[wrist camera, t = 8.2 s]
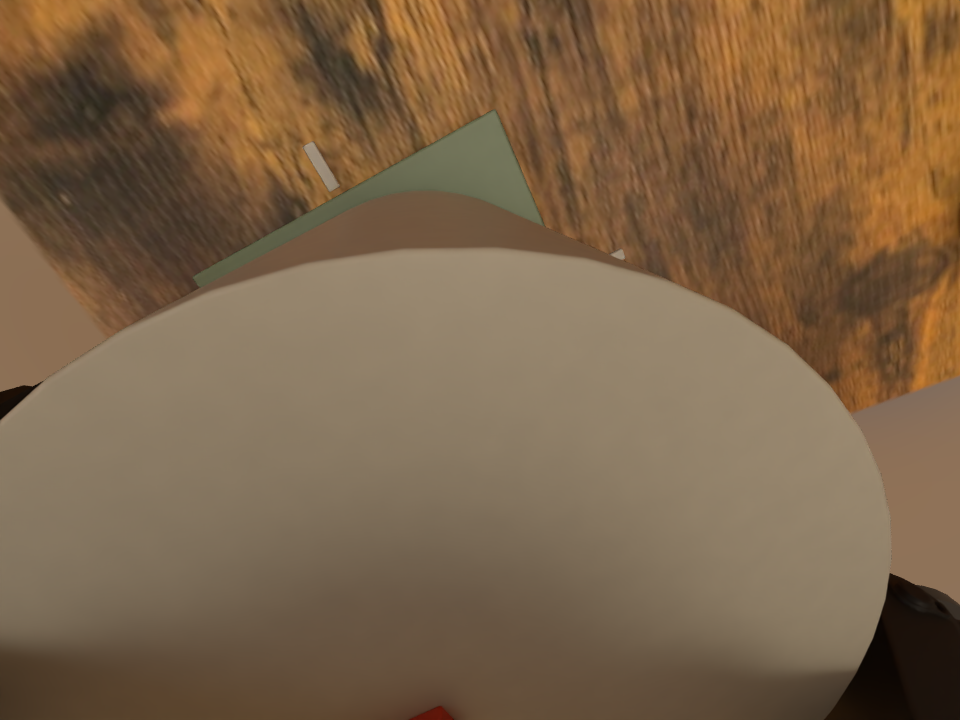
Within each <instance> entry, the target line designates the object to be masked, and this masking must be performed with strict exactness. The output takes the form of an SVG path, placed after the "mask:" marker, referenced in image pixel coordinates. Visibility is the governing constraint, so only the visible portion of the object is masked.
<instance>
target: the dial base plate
mask: <svg viewBox="0 0 960 720" xmlns="http://www.w3.org/2000/svg"><path fill="white" fill-rule="evenodd" d="M303 149H304V150H305V152H306V154H307V155H308V157H309V159H310V160H311V162H312V164H313V165H314V167H315V169H316V170H317V172H318V174H319V175H320V177H321V179H322V180H323V182H324V184H325V185H326V187H327V189H328V190H329V192H331V191H333V190H334V189H336V188H338V187H340V185H339V183H338V181H337V180H336V178H335V176H334V175H333V173H332V171H331V170H330V168H329V166H328V165H327V163H326V161H325V159H324V158H323V156H322V154H321V153H320V151H319V149H318V148H317V146H316V144H315V143H314V142H313V141H312V142H310V143H308V144H307V145H305V146H303ZM408 191H444V192H451V193H459V194H463V195H466V196H470V197H473V198H477V199H480V200H483V201H486V202H488V203H490V204H493V205H495V206H497V207H500V208H502V209H504V210H507V211H509V212H511V213H514V214H516V215H518V216H521V217H523V218H525V219H528V220H530V221H532V222H535V223H537V224H539V225H542V226H544V227H545V225H544V223H543V220H542V218H541V216H540V213H539V211H538V208H537V206H536V204H535V201H534V199H533V197H532V194H531V192H530V189H529V187H528V185H527V182H526V180H525V178H524V175H523V173H522V170H521V168H520V166H519V163H518V161H517V159H516V156H515V154H514V151H513V149H512V147H511V144H510V142H509V140H508V137H507V135H506V133H505V130H504V128H503V125H502V123H501V121H500V118H499V116H498V114H497V111H496V110H491V111H490V112H488V113H486V114H484V115H482V116H481V117H479V118H477V119H475V120H473V121H472V122H470V123H468V124H466V125H464V126H463V127H461V128H459V129H457V130H455V131H454V132H452V133H450V134H448V135H446V136H445V137H443V138H441V139H439V140H437V141H436V142H434V143H432V144H430V145H428V146H427V147H425V148H423V149H421V150H419V151H418V152H416V153H414V154H412V155H410V156H409V157H407V158H405V159H403V160H401V161H400V162H398V163H396V164H394V165H392V166H391V167H389V168H387V169H385V170H383V171H382V172H380V173H378V174H376V175H374V176H373V177H371V178H369V179H367V180H365V181H364V182H362V183H360V184H358V185H356V186H355V187H353V188H351V189H349V190H347V191H346V192H344V193H342V194H340V195H338V196H337V197H335V198H333V199H331V200H329V201H328V202H326V203H324V204H322V205H320V206H319V207H317V208H315V209H313V210H311V211H310V212H308V213H306V214H304V215H302V216H301V217H299V218H297V219H295V220H293V221H292V222H290V223H288V224H286V225H284V226H283V227H281V228H279V229H277V230H275V231H274V232H272V233H270V234H268V235H266V236H265V237H263V238H261V239H259V240H257V241H256V242H254V243H252V244H250V245H248V246H247V247H245V248H243V249H241V250H239V251H238V252H236V253H234V254H232V255H230V256H229V257H227V258H225V259H223V260H221V261H220V262H218V263H216V264H214V265H212V266H211V267H209V268H207V269H205V270H203V271H202V272H200V273H198V274H196V275H194V276H193V280H194V281H195V282H196V284H197V285H198V286H199V287H200V288H201V287H203V286H205V285H207V284H209V283H211V282H213V281H214V280H216V279H218V278H220V277H222V276H224V275H226V274H228V273H230V272H231V271H233V270H235V269H237V268H239V267H241V266H243V265H245V264H247V263H249V262H250V261H252V260H254V259H256V258H258V257H260V256H262V255H264V254H266V253H267V252H269V251H271V250H273V249H275V248H277V247H279V246H281V245H283V244H285V243H286V242H288V241H290V240H292V239H294V238H296V237H298V236H300V235H302V234H303V233H305V232H307V231H309V230H311V229H313V228H315V227H317V226H319V225H321V224H322V223H324V222H326V221H328V220H330V219H332V218H334V217H336V216H338V215H339V214H341V213H343V212H345V211H347V210H349V209H351V208H353V207H356V206H358V205H360V204H362V203H365V202H367V201H369V200H372V199H376V198H379V197H382V196H386V195H389V194H394V193H401V192H408ZM609 255H611V256H614V257H616V258H618V259H621V260H622V259H624V258H625V256H624V253H623V250H622V249H621V248H620V249H618V250H616V251H614V252H612V253H610V254H609Z"/></svg>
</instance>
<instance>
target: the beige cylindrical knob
mask: <svg viewBox="0 0 960 720" xmlns="http://www.w3.org/2000/svg"><path fill="white" fill-rule="evenodd" d="M890 519H891V517H890V513H889V508H888V503H887V499H886V494H885V490H884V485H883V481H882V476H881V473H880V470H879V468H878V466H877V464H876V462H875V459H874V457H873V455H872V452H871V450H870V448H869V446H868V444H867V441H866V439H865V437H864V434H863V432H862V430H861V428H860V427H859V426H858V424H857V423H856V421H855V420H854V419H853V417H852V416H851V414H850V413H849V411H848V410H847V409H846V407H845V406H844V404H843V403H842V402H841V400H840V399H839V397H838V396H837V395H836V393H835V392H834V390H833V389H832V388H831V386H830V385H829V384H828V383H827V382H826V381H825V380H824V379H823V378H822V377H821V376H820V375H819V374H818V373H817V372H816V371H815V370H814V369H813V368H812V367H810V366H809V365H808V364H807V363H806V362H805V361H804V360H803V359H802V358H801V357H800V356H799V355H798V354H797V353H796V352H795V351H794V350H793V349H792V348H791V347H790V346H788V345H787V344H786V343H784V342H783V341H781V340H780V339H778V338H777V337H775V336H774V335H772V334H771V333H769V332H768V331H766V330H765V329H763V328H762V327H760V326H759V325H757V324H756V323H754V322H753V321H751V320H749V319H748V318H746V317H745V316H743V315H742V314H740V313H739V312H737V311H736V310H734V309H733V308H731V307H728V306H726V305H724V304H722V303H719V302H717V301H715V300H713V299H710V298H708V297H706V296H704V295H701V294H699V293H697V292H695V291H692V290H690V289H688V288H685V287H683V286H681V285H679V284H676V283H674V282H672V281H670V280H667V279H665V278H663V277H660V276H658V275H656V274H653V273H651V272H649V271H646V270H644V269H642V268H639V267H637V266H635V265H632V264H630V263H628V262H625V261H623V260H621V259H618V258H616V257H614V256H611V255H609V254H607V253H604V252H602V251H600V250H597V249H595V248H593V247H590V246H588V245H586V244H583V243H581V242H579V241H576V240H574V239H572V238H569V237H567V236H565V235H562V234H560V233H558V232H556V231H553V230H551V229H549V228H546V227H544V226H542V225H539V224H537V223H535V222H532V221H530V220H528V219H525V218H523V217H521V216H518V215H516V214H514V213H511V212H509V211H507V210H504V209H502V208H500V207H497V206H495V205H493V204H490V203H488V202H486V201H483V200H480V199H477V198H473V197H470V196H466V195H463V194H459V193H451V192H444V191H408V192H401V193H394V194H389V195H386V196H382V197H379V198H376V199H372V200H369V201H367V202H365V203H362V204H360V205H358V206H356V207H353V208H351V209H349V210H347V211H345V212H343V213H341V214H339V215H338V216H336V217H334V218H332V219H330V220H328V221H326V222H324V223H322V224H321V225H319V226H317V227H315V228H313V229H311V230H309V231H307V232H305V233H303V234H302V235H300V236H298V237H296V238H294V239H292V240H290V241H288V242H286V243H285V244H283V245H281V246H279V247H277V248H275V249H273V250H271V251H269V252H267V253H266V254H264V255H262V256H260V257H258V258H256V259H254V260H252V261H250V262H249V263H247V264H245V265H243V266H241V267H239V268H237V269H235V270H233V271H231V272H230V273H228V274H226V275H224V276H222V277H220V278H218V279H216V280H214V281H213V282H211V283H209V284H207V285H205V286H203V287H201V288H199V289H197V290H195V291H194V292H192V293H190V294H188V295H186V296H184V297H182V298H180V299H178V300H177V301H175V302H173V303H171V304H169V305H167V306H165V307H163V308H161V309H159V310H158V311H156V312H154V313H152V314H150V315H148V316H146V317H144V318H142V319H141V320H139V321H137V322H135V323H133V324H131V325H129V326H127V327H125V328H124V329H122V330H120V331H119V332H117V333H116V334H114V335H113V336H111V337H110V338H108V339H106V340H105V341H103V342H102V343H100V344H99V345H97V346H95V347H94V348H92V349H91V350H89V351H88V352H86V353H85V354H83V355H81V356H80V357H78V358H77V359H75V360H74V361H72V362H70V363H69V364H67V365H66V366H64V367H63V368H61V369H60V370H58V371H57V372H55V373H53V374H52V375H50V376H49V377H48V378H46V379H45V380H44V381H43V382H42V383H41V384H40V385H39V386H38V387H36V388H35V389H34V390H33V391H32V392H31V393H30V394H29V395H28V396H26V397H25V398H24V399H23V400H22V401H21V402H20V403H19V404H18V405H16V406H15V407H14V408H13V409H12V410H11V411H10V412H9V413H8V414H7V415H5V416H4V417H3V418H2V419H1V420H0V720H824V719H825V718H826V717H827V715H828V714H829V713H830V712H831V711H832V709H833V708H834V707H835V705H836V704H837V702H838V701H839V699H840V697H841V696H842V694H843V693H844V691H845V690H846V688H847V687H848V685H849V683H850V682H851V680H852V679H853V677H854V676H855V674H856V672H857V670H858V668H859V666H860V664H861V662H862V660H863V658H864V656H865V654H866V652H867V650H868V647H869V645H870V643H871V641H872V639H873V637H874V634H875V631H876V627H877V624H878V621H879V618H880V615H881V612H882V609H883V605H884V602H885V599H886V593H887V586H888V579H889V573H890V566H891V559H892V558H891V557H892V555H891V520H890Z"/></svg>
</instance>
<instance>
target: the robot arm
mask: <svg viewBox="0 0 960 720" xmlns="http://www.w3.org/2000/svg"><path fill="white" fill-rule="evenodd" d="M42 382H43V381H42ZM42 382H40V383H38V384H37V385H35V386H33V387H32V386H25V385H24V386H20V387H16V388H13V389H9V390H5V391H2V392H0V420H1V419H2V418H3V417H4V416H5V415H7V414H8V413H9V412H10V411H11V410H12V409H13V408H14V407H15V406H16V405H18V404H19V403H20V402H21V401H22V400H23V399H24V398H25V397H26V396H28V395H29V394H30V393H31V392H32V391H33V390H34V389H35V388H36V387H38V386H39V385H40V384H41V383H42ZM824 720H960V620H957V619H955V618H954V617H953V616H952V614H951V613H950V612H949V610H948V609H947V608H946V607H945V606H944V605H943V604H942V603H941V602H939V601H938V600H937V599H935V598H934V597H933V596H931V595H930V594H928V593H927V592H925V591H924V590H923V589H921V588H920V587H918V586H916V585H915V584H912V583H910V582H909V581H907V580H905V579H903V578H901V577H898V576H896V575H893V574H891V573H889V579H888V586H887V593H886V599H885V602H884V605H883V609H882V612H881V615H880V618H879V621H878V624H877V627H876V631H875V634H874V637H873V639H872V641H871V643H870V645H869V647H868V650H867V652H866V654H865V656H864V658H863V660H862V662H861V664H860V666H859V668H858V670H857V672H856V674H855V676H854V677H853V679H852V680H851V682H850V683H849V685H848V687H847V688H846V690H845V691H844V693H843V694H842V696H841V697H840V699H839V701H838V702H837V704H836V705H835V707H834V708H833V709H832V711H831V712H830V713H829V714H828V715H827V717H826V718H825V719H824Z"/></svg>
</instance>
